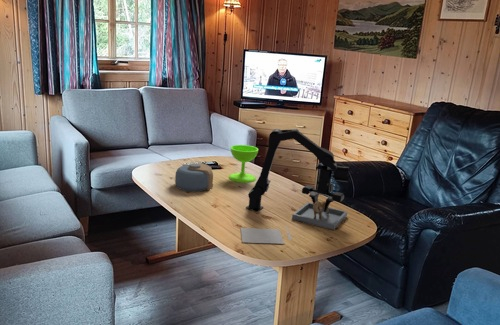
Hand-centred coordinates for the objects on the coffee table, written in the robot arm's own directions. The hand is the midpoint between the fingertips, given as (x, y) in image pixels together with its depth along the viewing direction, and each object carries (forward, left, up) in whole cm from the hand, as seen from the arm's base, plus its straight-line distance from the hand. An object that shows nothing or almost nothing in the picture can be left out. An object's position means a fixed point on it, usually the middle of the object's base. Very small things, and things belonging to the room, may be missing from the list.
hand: (320, 210), depth 208 cm
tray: (0, 0, -4) cm, 4 cm away
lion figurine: (0, -1, -3) cm, 3 cm away
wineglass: (+29, +58, -4) cm, 65 cm away
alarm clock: (-1, +71, -4) cm, 71 cm away
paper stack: (-29, +12, -4) cm, 32 cm away
